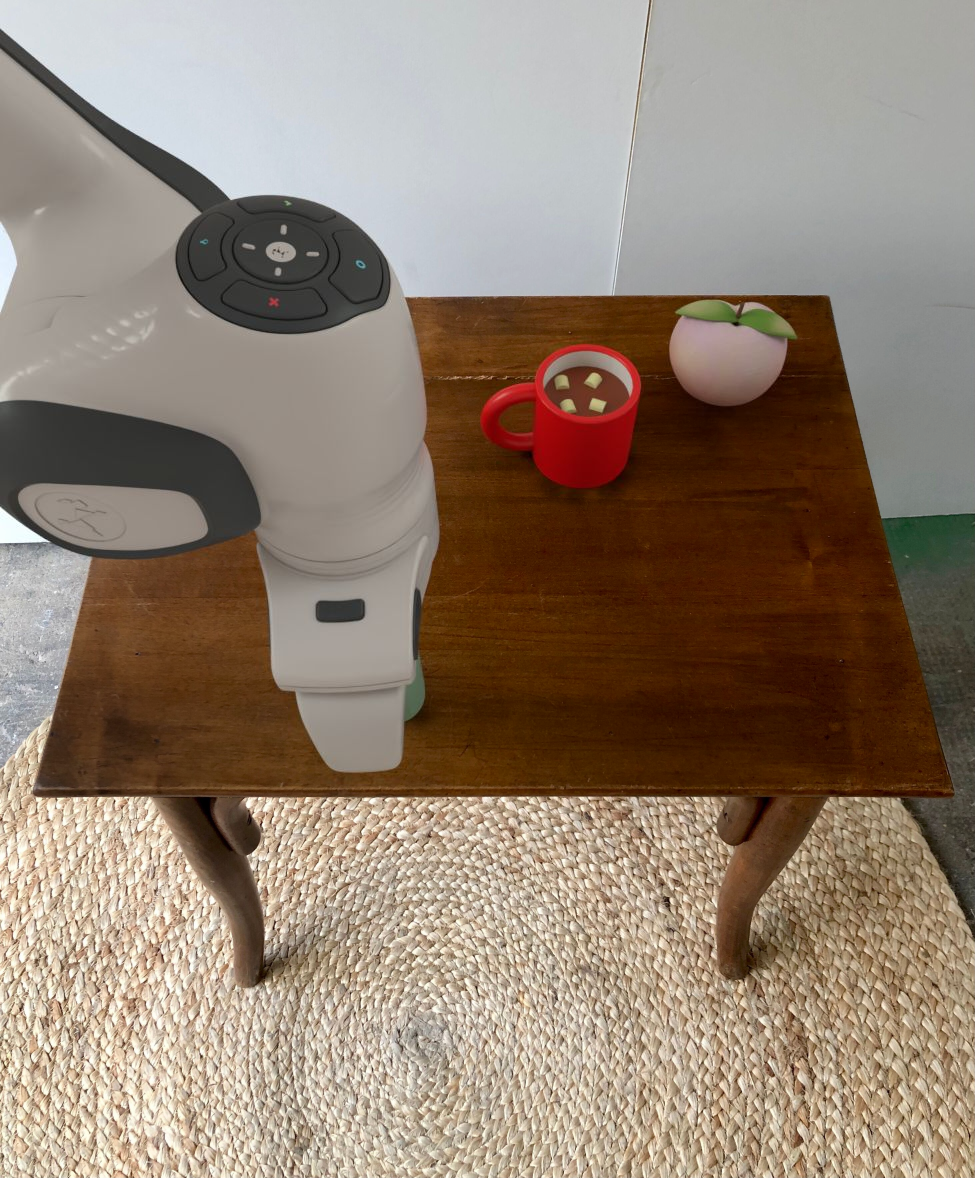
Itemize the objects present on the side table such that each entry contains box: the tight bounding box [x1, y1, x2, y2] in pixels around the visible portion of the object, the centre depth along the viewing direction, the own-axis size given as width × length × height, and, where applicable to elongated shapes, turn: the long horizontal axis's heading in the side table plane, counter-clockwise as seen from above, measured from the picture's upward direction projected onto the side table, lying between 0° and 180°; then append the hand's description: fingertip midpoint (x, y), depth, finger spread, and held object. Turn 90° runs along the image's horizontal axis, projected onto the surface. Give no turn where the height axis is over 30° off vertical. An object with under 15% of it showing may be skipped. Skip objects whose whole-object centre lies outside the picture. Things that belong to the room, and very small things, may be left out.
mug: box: [479, 343, 642, 489], centre depth 70 cm, size 8×12×8 cm, turn 95°
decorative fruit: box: [668, 299, 798, 407], centre depth 72 cm, size 9×8×10 cm
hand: (380, 645), depth 56 cm, fingers closed on bottle, 4 cm apart
